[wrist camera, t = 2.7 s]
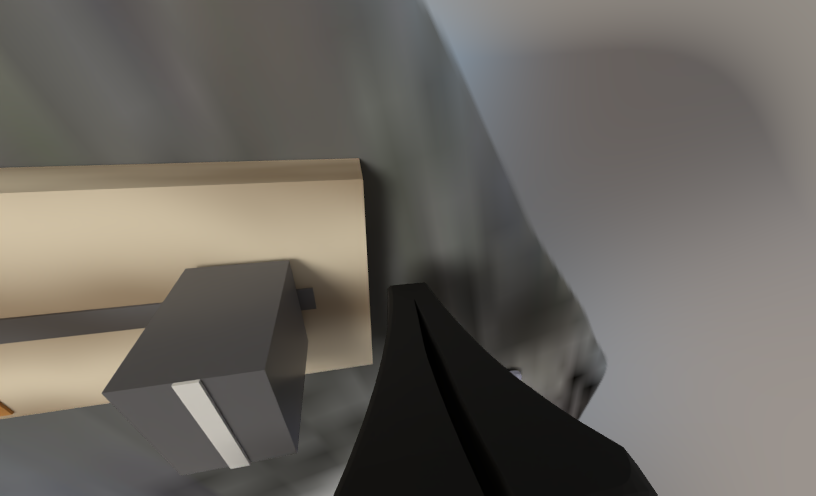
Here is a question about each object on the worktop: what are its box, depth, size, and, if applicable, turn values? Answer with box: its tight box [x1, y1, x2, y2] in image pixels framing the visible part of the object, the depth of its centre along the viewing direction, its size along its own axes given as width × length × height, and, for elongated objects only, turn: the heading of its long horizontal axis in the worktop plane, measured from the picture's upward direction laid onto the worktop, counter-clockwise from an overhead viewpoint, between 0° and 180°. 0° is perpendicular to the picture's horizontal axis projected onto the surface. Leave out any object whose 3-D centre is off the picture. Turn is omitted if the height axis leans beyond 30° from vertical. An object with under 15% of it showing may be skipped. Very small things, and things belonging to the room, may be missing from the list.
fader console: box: [0, 158, 373, 419], centre depth 10 cm, size 9×20×2 cm, turn 87°
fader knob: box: [101, 260, 308, 476], centre depth 9 cm, size 4×3×4 cm
